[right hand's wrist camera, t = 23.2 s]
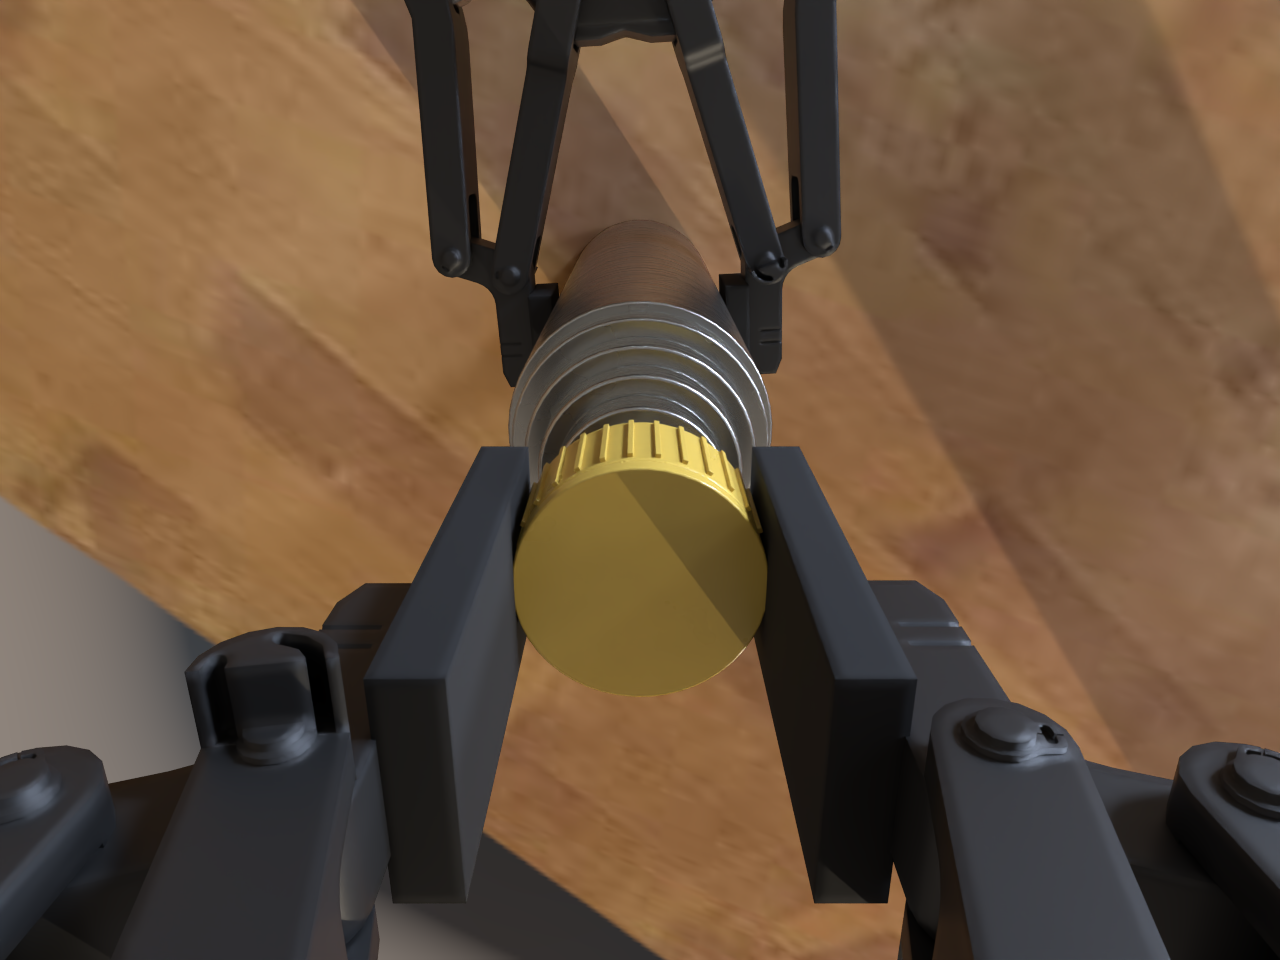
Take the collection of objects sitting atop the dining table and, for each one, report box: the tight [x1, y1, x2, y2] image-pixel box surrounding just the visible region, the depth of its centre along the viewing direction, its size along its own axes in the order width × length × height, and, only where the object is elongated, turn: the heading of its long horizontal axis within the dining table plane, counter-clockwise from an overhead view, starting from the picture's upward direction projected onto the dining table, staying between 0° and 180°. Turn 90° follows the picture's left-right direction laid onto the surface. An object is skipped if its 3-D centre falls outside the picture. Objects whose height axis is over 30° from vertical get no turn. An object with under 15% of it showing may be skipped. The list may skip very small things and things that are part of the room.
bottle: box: [508, 220, 772, 490], centre depth 25 cm, size 6×6×25 cm
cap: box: [513, 420, 768, 697], centre depth 14 cm, size 4×4×2 cm
